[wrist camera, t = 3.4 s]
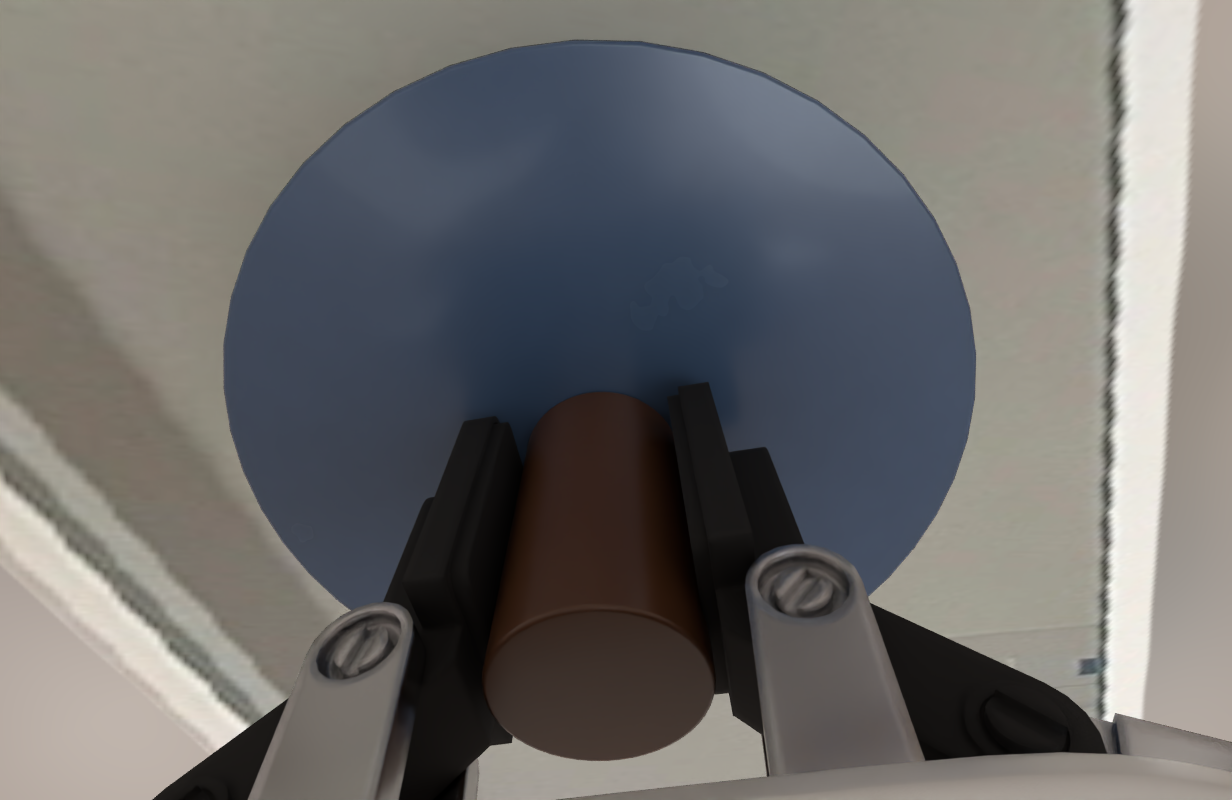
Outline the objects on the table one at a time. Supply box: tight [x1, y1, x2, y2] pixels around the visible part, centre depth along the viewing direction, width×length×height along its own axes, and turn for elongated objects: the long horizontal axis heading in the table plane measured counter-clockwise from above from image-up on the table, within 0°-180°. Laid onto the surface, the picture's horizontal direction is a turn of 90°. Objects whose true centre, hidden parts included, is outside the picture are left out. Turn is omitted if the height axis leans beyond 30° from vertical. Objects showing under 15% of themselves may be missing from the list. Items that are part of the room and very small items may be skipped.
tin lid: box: [224, 40, 976, 761], centre depth 10 cm, size 14×14×6 cm
